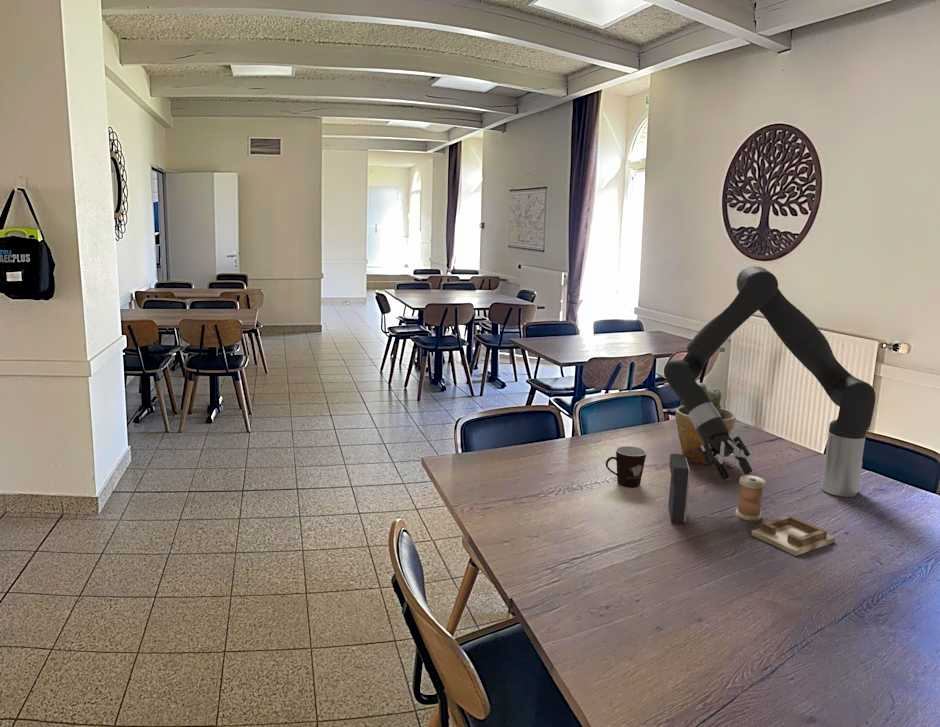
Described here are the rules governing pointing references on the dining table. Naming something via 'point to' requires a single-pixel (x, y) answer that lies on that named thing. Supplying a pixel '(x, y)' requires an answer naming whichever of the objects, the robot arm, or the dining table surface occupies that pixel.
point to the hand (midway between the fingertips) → (738, 476)
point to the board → (793, 535)
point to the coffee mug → (629, 465)
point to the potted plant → (688, 432)
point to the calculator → (678, 488)
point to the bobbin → (750, 497)
